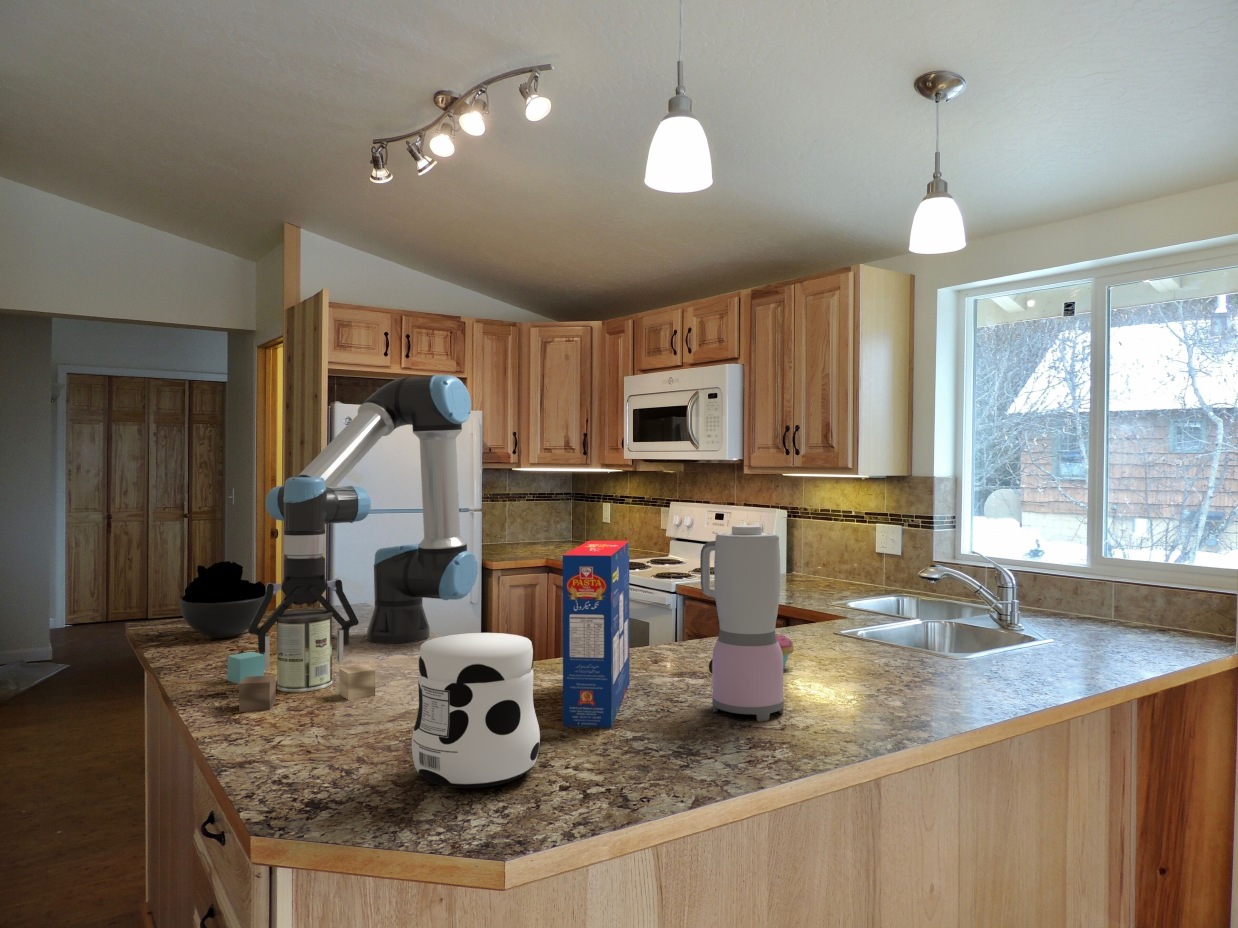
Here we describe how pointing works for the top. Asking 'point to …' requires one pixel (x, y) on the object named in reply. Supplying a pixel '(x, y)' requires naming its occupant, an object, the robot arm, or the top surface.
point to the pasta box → (595, 632)
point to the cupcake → (785, 647)
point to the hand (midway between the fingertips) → (304, 665)
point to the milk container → (475, 710)
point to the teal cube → (244, 666)
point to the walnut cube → (257, 693)
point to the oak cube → (356, 682)
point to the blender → (745, 621)
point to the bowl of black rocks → (221, 600)
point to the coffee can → (304, 650)
